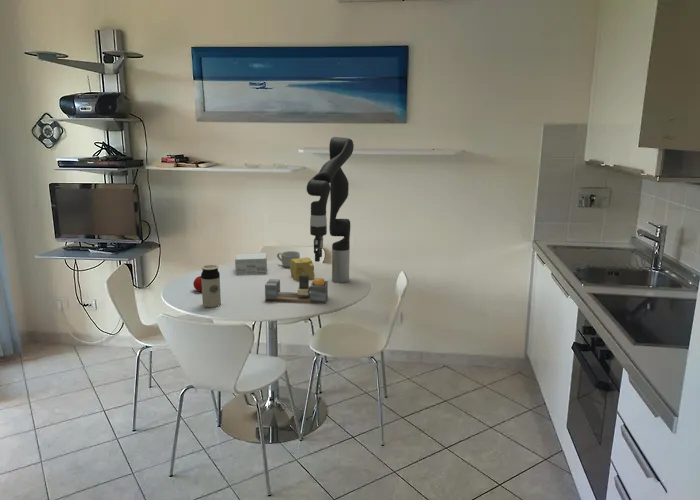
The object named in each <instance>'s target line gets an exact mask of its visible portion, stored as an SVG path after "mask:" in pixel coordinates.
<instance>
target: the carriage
mask: <svg viewBox="0 0 700 500" xmlns="http://www.w3.org/2000/svg"><path fill="white" fill-rule="evenodd" d="M309 281H310V280H309V275H302V274H300V276H299V281H298V282H299V283H298V284H299V285H298V288H297V293H298V295H309V293H310V286H311V285H309V284H310V283H309Z"/></svg>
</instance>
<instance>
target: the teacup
mask: <svg viewBox="0 0 700 500" xmlns="http://www.w3.org/2000/svg"><path fill="white" fill-rule="evenodd" d="M300 254H301V253H300V252H299V251H295V250H289V251H288V250H287V251H286V250H285V251H283V252H278V253H277V254H276V257H277V259H278V260H279V261H280V262H281V264H282V266H284V267H285V268H289V269H290V263H291V259H299V258H301V257H300V256H301V255H300ZM280 256H281V257H280Z"/></svg>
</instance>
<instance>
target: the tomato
mask: <svg viewBox="0 0 700 500" xmlns="http://www.w3.org/2000/svg"><path fill="white" fill-rule="evenodd" d="M193 287H194V289H195V290H196V291H197V292H201V293H202V281H201V275H199V276H197V277H196V278H194V280H193Z"/></svg>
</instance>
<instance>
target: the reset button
mask: <svg viewBox="0 0 700 500" xmlns="http://www.w3.org/2000/svg"><path fill="white" fill-rule="evenodd" d="M313 280H314V285H316V286H324V281H325V279H324V278H321V277H317V278H314V279H313Z"/></svg>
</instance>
